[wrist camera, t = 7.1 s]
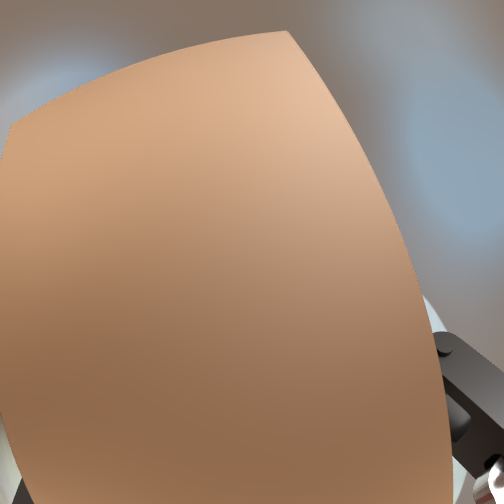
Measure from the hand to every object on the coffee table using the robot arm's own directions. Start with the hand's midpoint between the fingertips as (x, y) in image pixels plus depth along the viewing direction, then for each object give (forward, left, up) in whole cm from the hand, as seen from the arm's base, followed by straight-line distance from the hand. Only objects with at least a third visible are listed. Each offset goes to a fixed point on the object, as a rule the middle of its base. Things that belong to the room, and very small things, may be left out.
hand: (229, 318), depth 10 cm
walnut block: (+1, -1, -10) cm, 10 cm away
